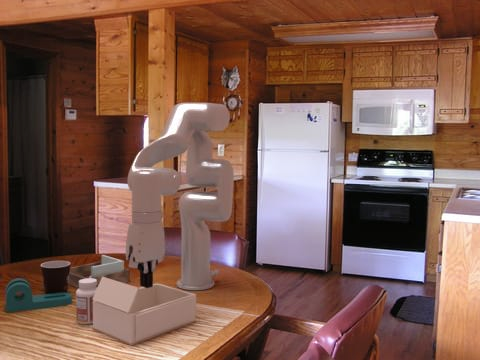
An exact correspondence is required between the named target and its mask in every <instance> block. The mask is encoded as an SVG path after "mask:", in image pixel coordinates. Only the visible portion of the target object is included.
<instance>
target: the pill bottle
mask: <svg viewBox="0 0 480 360" xmlns="http://www.w3.org/2000/svg"><path fill="white" fill-rule="evenodd" d="M96 286H97V280H96V279H93V278H89V277H88V278H87V277H86V279H81V280H79V287H80V288H77V290H76V291H75V312H76V314H75V315H76V317H75V318H76V322H77V323H78V324H82V325H90V324H92V325H93V301H94V300H92V299H93V297H94V294H95V292H96V290H97V287H96Z"/></svg>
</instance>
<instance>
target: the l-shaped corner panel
mask: <svg viewBox="0 0 480 360" xmlns="http://www.w3.org/2000/svg"><path fill="white" fill-rule="evenodd" d="M101 262H102V265H97V266H92V267H91V275H90V276H88V278H93V277H98V276H102V275H106V274H110V273H115V272H119V271H123V270H124V268H125V261H124V260H122V259H119V258H114V257H111V256H109V255H108V256H107V255H105V254H102V255H101Z"/></svg>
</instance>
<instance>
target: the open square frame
mask: <svg viewBox="0 0 480 360" xmlns="http://www.w3.org/2000/svg"><path fill="white" fill-rule="evenodd" d="M97 265H102V260H101V261H96V262H91V263H86V264H82V265H78V266H72V267H70V273H69V282H68V286H70V285H71V286H70V287H73V286H74V287H73V288H76V289H79V288H80V287H79V280H81V279H86V278H87V277H89V276H91V267H92V266H97ZM102 277H106V278H109V279H112V280H115V281H118V282H122V283H125V284H126V283H128V282H131V269H129V268H126V267H124V270H123V271H119V272H115V273H110V274H106V275H102V276H98V277H93V279H96V280H97V286H96V287H97V288H98V285H99V283H100V281H101V278H102Z"/></svg>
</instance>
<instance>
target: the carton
mask: <svg viewBox="0 0 480 360" xmlns="http://www.w3.org/2000/svg"><path fill="white" fill-rule="evenodd" d="M139 288H140V290H139V292H138V294H137V297H136V299H135V302H134V304H133V307H132V309H131V311H130V313H128V312H125V311H122V310H119V309H117V308H114V307H111V306H108V305H106V304H103V303H100V302H98V301H95V300H94V301H93V323H92V329H93V330H95V332H98V333H101V334H103V335H104V336H108V337H110V338H113V339H115V340H116V341H119V342H122V343H125V344H127V345H129V346H134V345H137V344H139V343H143V342H144V341H148V340H150V339H152V338H153V339H154V338H156V337H158V336H161V335H163V334H166V333H169V332H172V331H174V330H177V329H180V328H182V327H185V326H189V324H193V323H195V322H196V316H197V294H196V293H194V292H189V291H187V290H186V291H185V290H184V289H181V288H175V287H173V286H168V285H165V284H162V283H153V287H149V288H145V287H142V286H140V287H139Z"/></svg>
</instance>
